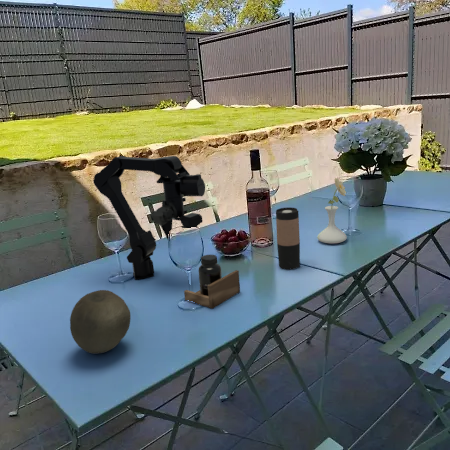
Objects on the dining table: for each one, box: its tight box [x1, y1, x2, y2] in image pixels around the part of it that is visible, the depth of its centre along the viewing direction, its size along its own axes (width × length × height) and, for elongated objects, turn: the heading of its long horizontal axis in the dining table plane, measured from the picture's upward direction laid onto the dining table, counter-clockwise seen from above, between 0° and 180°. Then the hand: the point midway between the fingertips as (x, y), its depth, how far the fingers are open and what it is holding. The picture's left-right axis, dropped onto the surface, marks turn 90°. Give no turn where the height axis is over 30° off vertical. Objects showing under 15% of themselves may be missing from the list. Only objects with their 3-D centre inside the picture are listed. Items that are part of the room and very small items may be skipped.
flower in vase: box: [316, 177, 348, 244], centre depth 167 cm, size 13×11×25 cm
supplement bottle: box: [198, 254, 222, 296], centre depth 129 cm, size 7×7×12 cm
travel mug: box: [275, 207, 301, 271], centre depth 146 cm, size 8×8×20 cm
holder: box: [183, 269, 241, 310], centre depth 130 cm, size 11×13×7 cm
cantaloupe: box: [69, 289, 131, 355], centre depth 105 cm, size 14×14×15 cm
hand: (178, 242), depth 142 cm, fingers open, 9 cm apart
